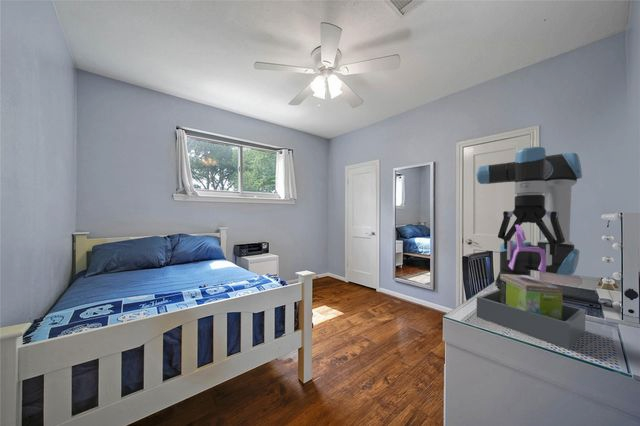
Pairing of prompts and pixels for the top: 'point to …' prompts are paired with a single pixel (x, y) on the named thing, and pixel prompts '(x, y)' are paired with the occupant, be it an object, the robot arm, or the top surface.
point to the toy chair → (519, 240)
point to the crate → (533, 320)
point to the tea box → (531, 295)
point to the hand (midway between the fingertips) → (528, 261)
